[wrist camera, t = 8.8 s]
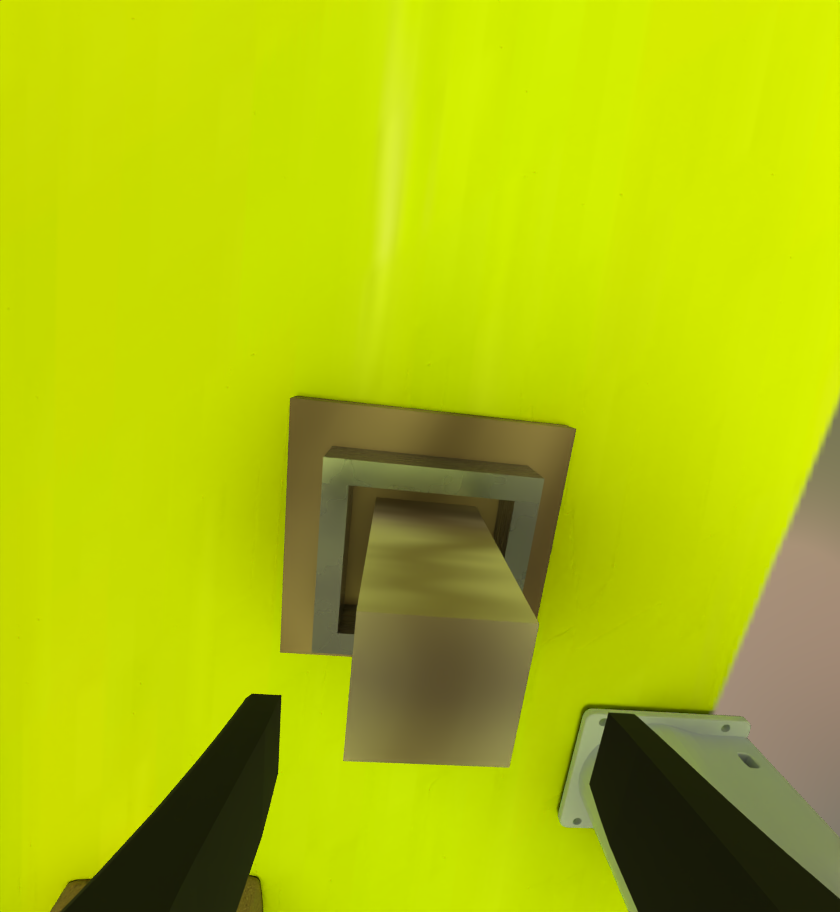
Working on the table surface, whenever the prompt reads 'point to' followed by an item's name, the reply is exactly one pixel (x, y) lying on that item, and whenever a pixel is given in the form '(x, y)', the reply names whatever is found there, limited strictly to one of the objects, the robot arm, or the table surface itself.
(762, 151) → the table surface
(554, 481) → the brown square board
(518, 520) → the gray square frame
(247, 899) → the candle holder
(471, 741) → the tan rectangular block
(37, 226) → the table surface
